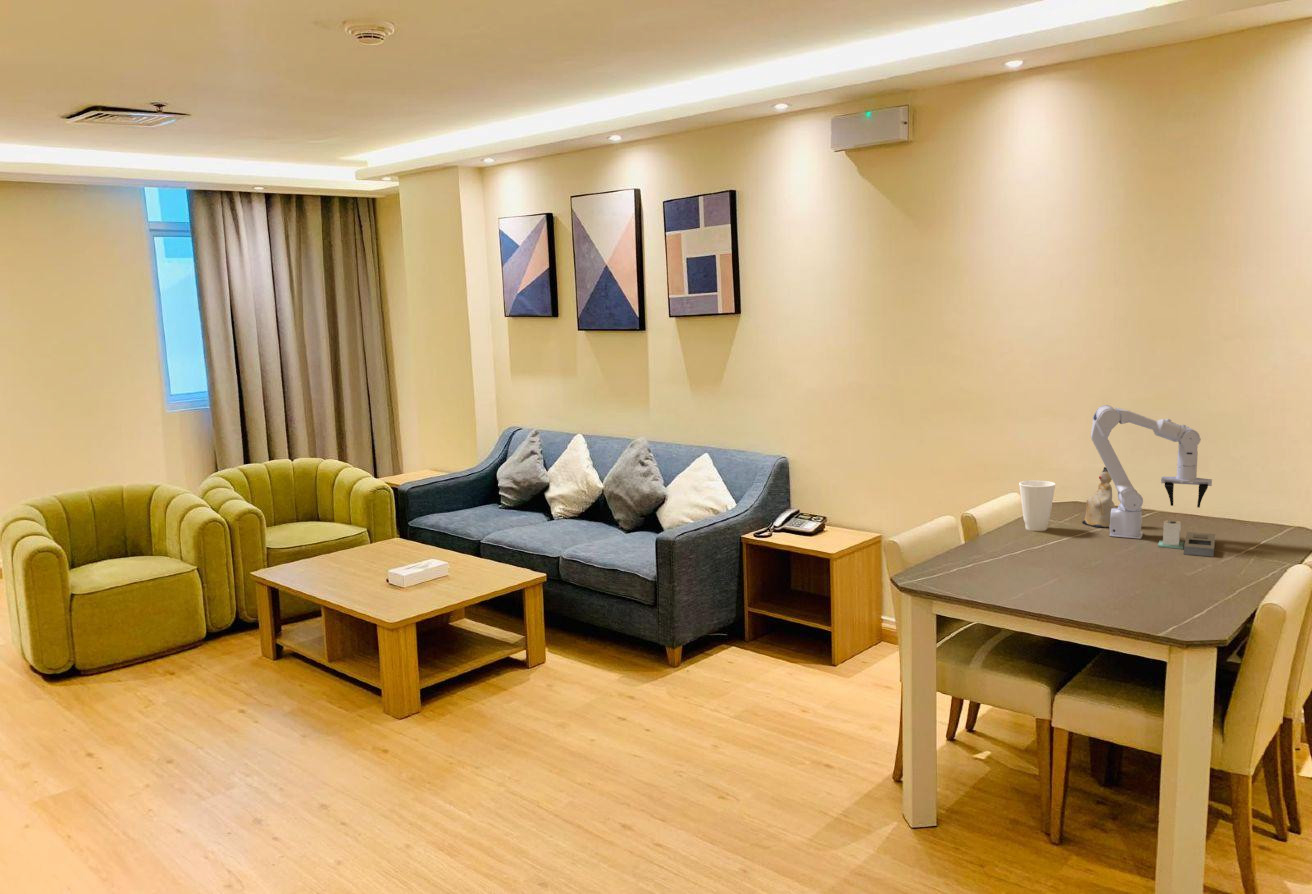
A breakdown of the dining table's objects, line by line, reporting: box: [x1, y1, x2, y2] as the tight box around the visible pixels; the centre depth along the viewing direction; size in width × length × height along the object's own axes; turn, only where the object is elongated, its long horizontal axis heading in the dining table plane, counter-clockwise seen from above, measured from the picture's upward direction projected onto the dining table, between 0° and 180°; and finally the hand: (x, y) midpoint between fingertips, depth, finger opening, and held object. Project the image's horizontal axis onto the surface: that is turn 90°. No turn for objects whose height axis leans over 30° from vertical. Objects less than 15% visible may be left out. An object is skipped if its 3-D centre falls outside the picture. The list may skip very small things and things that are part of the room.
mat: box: [1157, 539, 1185, 550], centre depth 318 cm, size 7×7×1 cm
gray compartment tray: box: [1183, 531, 1216, 558], centre depth 314 cm, size 8×20×3 cm, turn 150°
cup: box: [1018, 479, 1057, 532], centre depth 345 cm, size 12×12×16 cm
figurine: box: [1081, 466, 1117, 529], centre depth 348 cm, size 12×10×20 cm
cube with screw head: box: [1162, 520, 1182, 546], centre depth 317 cm, size 4×4×7 cm
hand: (1185, 506), depth 326 cm, fingers open, 7 cm apart
